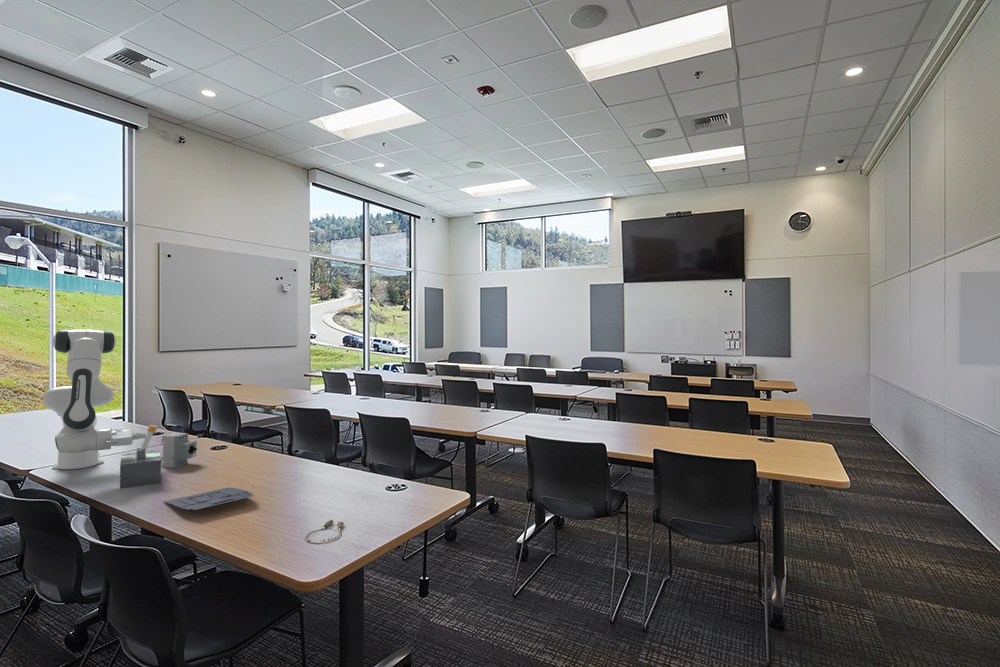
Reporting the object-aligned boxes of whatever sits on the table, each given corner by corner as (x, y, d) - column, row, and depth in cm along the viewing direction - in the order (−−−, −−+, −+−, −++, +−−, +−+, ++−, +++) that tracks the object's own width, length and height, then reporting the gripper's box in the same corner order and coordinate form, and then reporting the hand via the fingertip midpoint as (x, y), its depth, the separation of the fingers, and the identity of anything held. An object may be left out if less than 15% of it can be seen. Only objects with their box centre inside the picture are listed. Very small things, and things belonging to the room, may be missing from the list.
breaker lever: (136, 454, 217) (149, 424, 220) (143, 456, 219) (156, 426, 222) (136, 456, 215) (150, 425, 217) (143, 457, 216) (157, 427, 219)
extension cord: (357, 530, 167) (357, 525, 167) (320, 548, 153) (320, 541, 153) (332, 523, 173) (332, 517, 173) (294, 539, 159) (294, 533, 159)
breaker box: (121, 475, 222) (121, 446, 222) (158, 471, 230) (159, 442, 230) (119, 488, 204) (120, 456, 204) (160, 483, 212) (161, 452, 212)
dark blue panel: (188, 519, 170) (188, 508, 170) (162, 508, 189) (162, 499, 190) (260, 501, 188) (259, 492, 189) (229, 493, 208) (229, 484, 208)
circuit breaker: (189, 467, 237) (190, 436, 237) (160, 466, 237) (161, 436, 237) (199, 463, 244) (200, 433, 244) (171, 462, 245) (172, 432, 245)
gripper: (104, 436, 201) (145, 432, 209) (107, 428, 217) (145, 424, 226) (104, 451, 201) (145, 446, 209) (107, 442, 217) (145, 438, 226)
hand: (145, 435), depth 218 cm, fingers closed, pressing on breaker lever
